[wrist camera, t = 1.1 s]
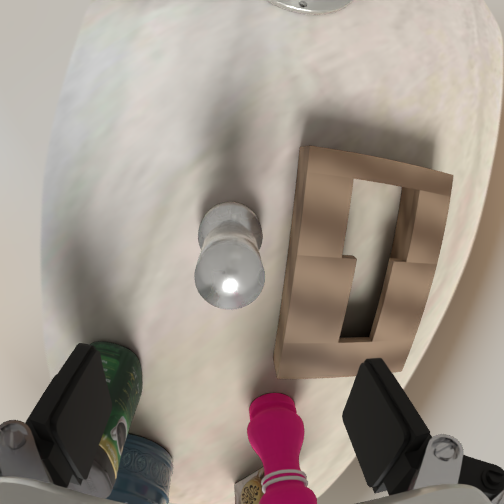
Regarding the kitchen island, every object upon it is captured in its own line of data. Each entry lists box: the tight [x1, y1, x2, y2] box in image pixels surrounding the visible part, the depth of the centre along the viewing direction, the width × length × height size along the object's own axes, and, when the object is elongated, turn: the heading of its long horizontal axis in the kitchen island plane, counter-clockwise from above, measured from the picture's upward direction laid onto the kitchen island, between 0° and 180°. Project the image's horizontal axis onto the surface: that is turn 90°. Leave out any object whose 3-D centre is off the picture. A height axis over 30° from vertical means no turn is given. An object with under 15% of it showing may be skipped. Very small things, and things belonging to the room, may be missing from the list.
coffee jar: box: [67, 342, 142, 498], centre depth 26 cm, size 10×8×19 cm
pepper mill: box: [247, 393, 317, 504], centre depth 29 cm, size 7×7×20 cm
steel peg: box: [195, 202, 265, 309], centre depth 25 cm, size 6×6×12 cm
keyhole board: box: [273, 146, 453, 379], centre depth 31 cm, size 24×16×4 cm, turn 175°
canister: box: [104, 434, 173, 504], centre depth 33 cm, size 13×13×18 cm
